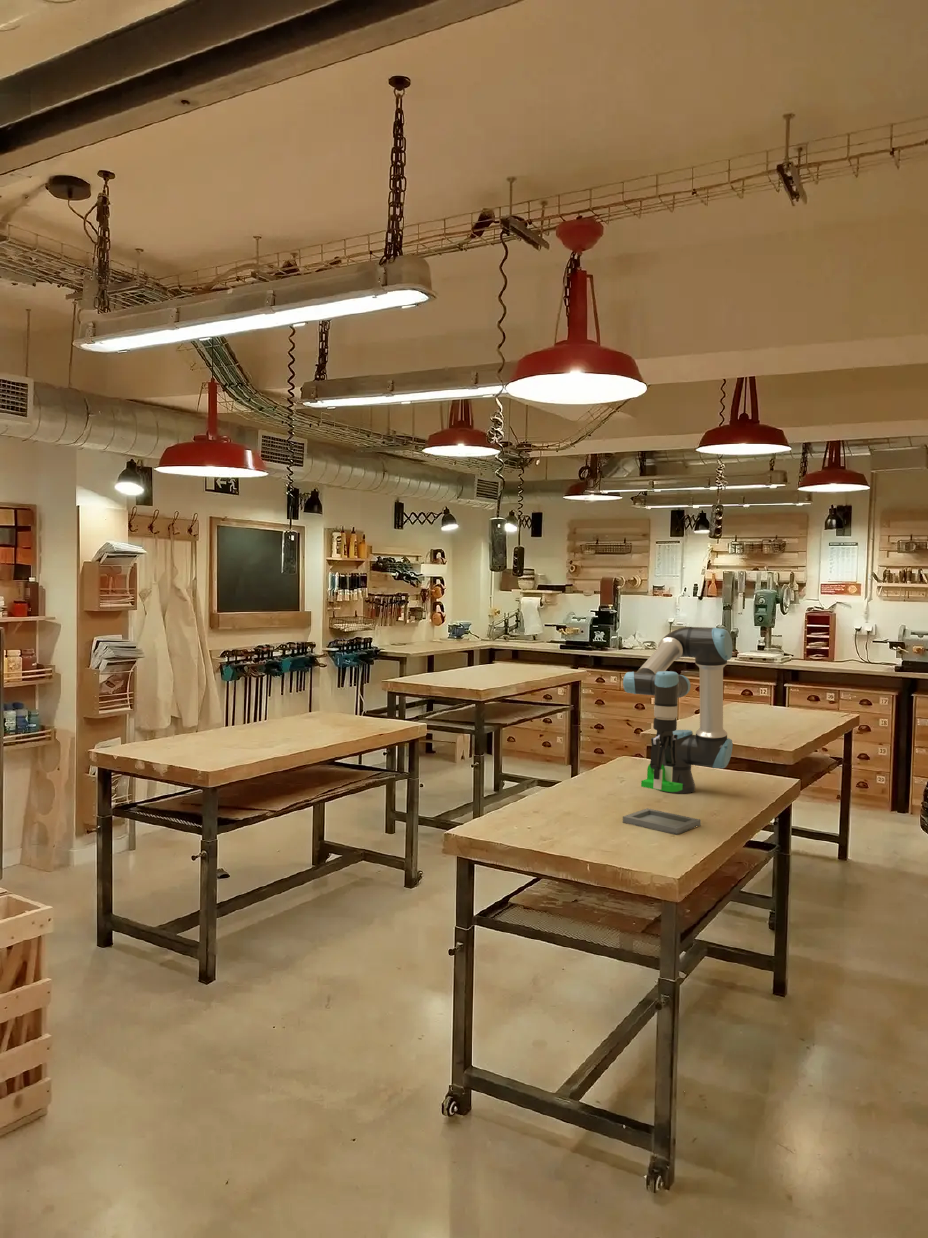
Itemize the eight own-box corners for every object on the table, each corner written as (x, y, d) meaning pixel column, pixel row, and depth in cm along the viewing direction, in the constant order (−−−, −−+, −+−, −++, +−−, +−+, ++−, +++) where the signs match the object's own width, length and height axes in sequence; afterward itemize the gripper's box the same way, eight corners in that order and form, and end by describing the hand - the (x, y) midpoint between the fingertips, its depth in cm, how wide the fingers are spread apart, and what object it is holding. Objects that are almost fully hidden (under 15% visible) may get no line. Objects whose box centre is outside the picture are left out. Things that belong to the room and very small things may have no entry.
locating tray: (647, 814, 304) (647, 808, 304) (700, 825, 291) (700, 819, 291) (622, 822, 292) (622, 816, 292) (676, 835, 279) (677, 828, 279)
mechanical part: (641, 786, 293) (641, 763, 293) (649, 783, 298) (650, 760, 297) (674, 792, 285) (674, 768, 285) (682, 789, 290) (683, 765, 290)
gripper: (669, 714, 300) (666, 781, 301) (640, 719, 286) (637, 789, 287) (689, 716, 295) (686, 785, 296) (661, 722, 281) (658, 793, 282)
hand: (662, 787), depth 291 cm, fingers closed on mechanical part, 6 cm apart
